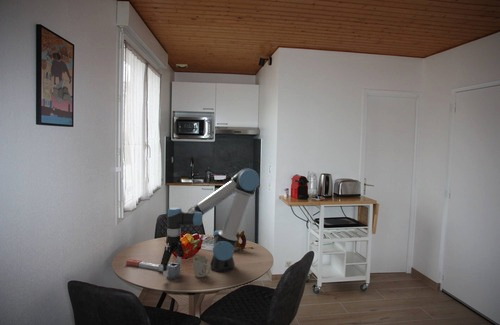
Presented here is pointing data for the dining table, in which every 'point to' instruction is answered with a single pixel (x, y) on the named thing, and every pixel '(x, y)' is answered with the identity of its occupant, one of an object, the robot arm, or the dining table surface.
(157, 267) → the ratchet
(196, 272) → the mug
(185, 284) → the dining table surface
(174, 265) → the socket
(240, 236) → the mug
